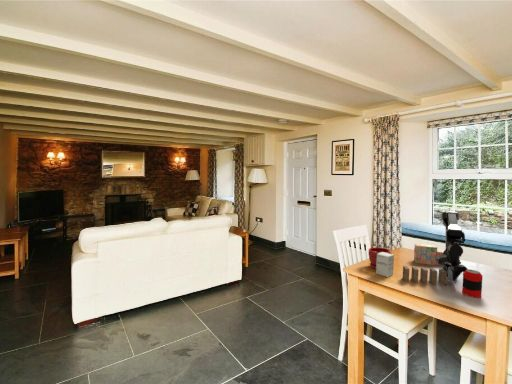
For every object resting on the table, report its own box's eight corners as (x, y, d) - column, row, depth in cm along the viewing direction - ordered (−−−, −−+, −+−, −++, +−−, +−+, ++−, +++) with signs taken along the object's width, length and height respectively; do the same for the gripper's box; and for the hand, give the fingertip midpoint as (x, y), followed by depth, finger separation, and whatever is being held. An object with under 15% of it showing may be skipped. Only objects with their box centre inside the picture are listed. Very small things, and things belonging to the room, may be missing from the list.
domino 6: (447, 279, 150) (448, 266, 149) (451, 280, 149) (452, 266, 149) (451, 283, 145) (452, 269, 144) (455, 283, 144) (456, 270, 144)
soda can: (472, 291, 139) (473, 268, 138) (485, 297, 131) (486, 274, 130) (458, 291, 138) (459, 268, 138) (470, 298, 131) (471, 274, 130)
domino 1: (402, 278, 156) (403, 265, 155) (406, 278, 155) (406, 265, 155) (404, 281, 151) (405, 268, 150) (408, 281, 150) (409, 268, 150)
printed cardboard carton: (449, 264, 181) (450, 246, 180) (452, 267, 175) (453, 248, 174) (413, 260, 189) (414, 243, 188) (415, 263, 183) (416, 245, 182)
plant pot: (383, 264, 180) (384, 246, 179) (394, 271, 167) (395, 252, 166) (364, 264, 179) (365, 246, 179) (373, 271, 166) (374, 252, 166)
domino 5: (438, 281, 151) (438, 268, 151) (442, 281, 151) (442, 268, 150) (441, 284, 146) (442, 271, 146) (446, 285, 146) (446, 272, 145)
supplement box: (375, 273, 162) (376, 253, 161) (381, 271, 166) (382, 251, 166) (387, 277, 156) (388, 256, 155) (393, 274, 161) (394, 254, 160)
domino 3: (420, 279, 153) (420, 267, 153) (423, 280, 153) (424, 267, 152) (423, 283, 148) (423, 270, 148) (427, 283, 148) (427, 270, 148)
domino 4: (429, 280, 152) (429, 267, 152) (433, 280, 152) (433, 268, 151) (432, 284, 147) (433, 270, 147) (436, 284, 147) (437, 271, 146)
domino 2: (411, 278, 154) (411, 266, 154) (415, 279, 154) (415, 266, 153) (414, 282, 150) (414, 269, 149) (417, 282, 149) (418, 269, 149)
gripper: (430, 245, 157) (429, 271, 158) (444, 255, 139) (442, 284, 140) (452, 247, 154) (450, 273, 155) (468, 256, 136) (467, 286, 137)
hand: (451, 278), depth 147 cm, fingers closed on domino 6, 5 cm apart
